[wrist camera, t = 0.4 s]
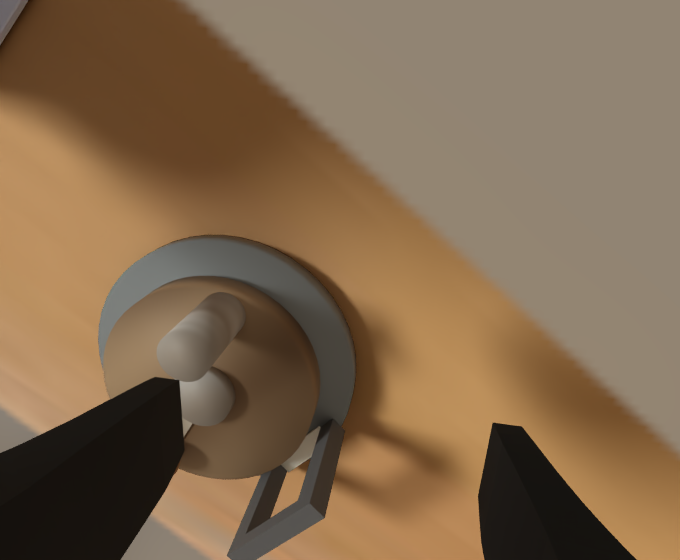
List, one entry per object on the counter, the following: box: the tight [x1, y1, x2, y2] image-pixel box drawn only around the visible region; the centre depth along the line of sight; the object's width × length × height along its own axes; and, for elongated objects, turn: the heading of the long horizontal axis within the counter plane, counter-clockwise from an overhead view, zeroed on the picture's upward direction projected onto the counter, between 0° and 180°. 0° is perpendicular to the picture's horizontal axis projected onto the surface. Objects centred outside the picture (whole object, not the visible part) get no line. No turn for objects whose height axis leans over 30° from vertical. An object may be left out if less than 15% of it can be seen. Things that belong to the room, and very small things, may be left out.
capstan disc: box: [103, 276, 320, 479], centre depth 20 cm, size 9×9×5 cm
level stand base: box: [98, 235, 356, 560], centre depth 20 cm, size 12×12×6 cm
